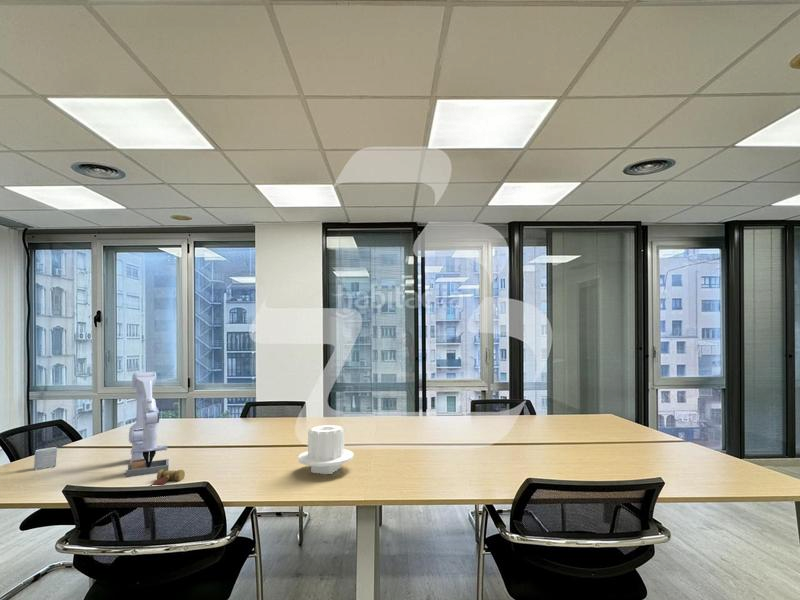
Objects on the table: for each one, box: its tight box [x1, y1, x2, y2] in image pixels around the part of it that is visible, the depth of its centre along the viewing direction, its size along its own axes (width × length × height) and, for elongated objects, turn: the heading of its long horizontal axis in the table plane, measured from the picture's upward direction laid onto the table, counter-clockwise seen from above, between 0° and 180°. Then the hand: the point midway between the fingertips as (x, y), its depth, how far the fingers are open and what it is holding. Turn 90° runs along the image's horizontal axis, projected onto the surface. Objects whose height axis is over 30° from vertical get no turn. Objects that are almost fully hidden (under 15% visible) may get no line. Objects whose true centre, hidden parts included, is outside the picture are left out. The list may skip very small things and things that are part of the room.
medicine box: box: [33, 446, 58, 470], centre depth 200 cm, size 8×4×9 cm, turn 134°
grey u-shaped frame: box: [125, 458, 170, 478], centre depth 195 cm, size 12×16×2 cm
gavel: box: [149, 469, 186, 486], centre depth 173 cm, size 21×5×10 cm
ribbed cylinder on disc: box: [297, 424, 354, 475], centre depth 193 cm, size 25×25×19 cm
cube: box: [130, 459, 145, 470], centre depth 193 cm, size 5×5×5 cm
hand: (148, 468), depth 195 cm, fingers closed
